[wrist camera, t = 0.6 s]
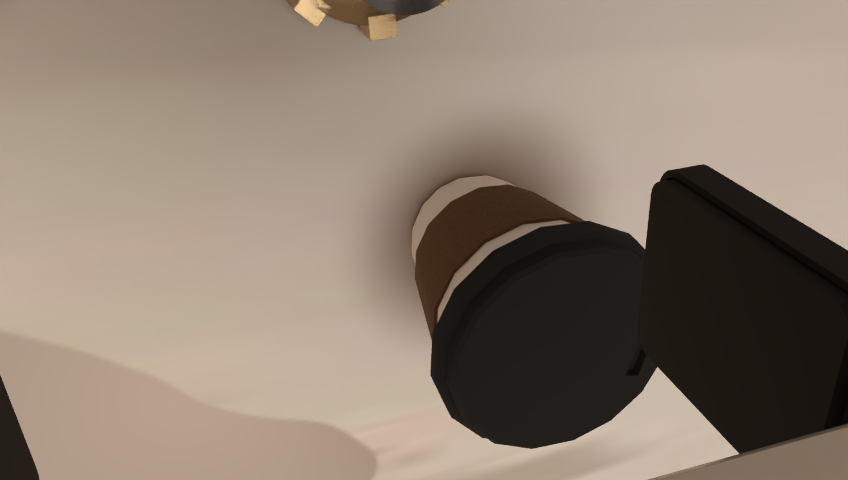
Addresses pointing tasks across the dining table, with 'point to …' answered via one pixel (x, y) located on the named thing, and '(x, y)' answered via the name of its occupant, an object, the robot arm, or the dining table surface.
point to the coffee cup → (527, 313)
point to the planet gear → (365, 13)
